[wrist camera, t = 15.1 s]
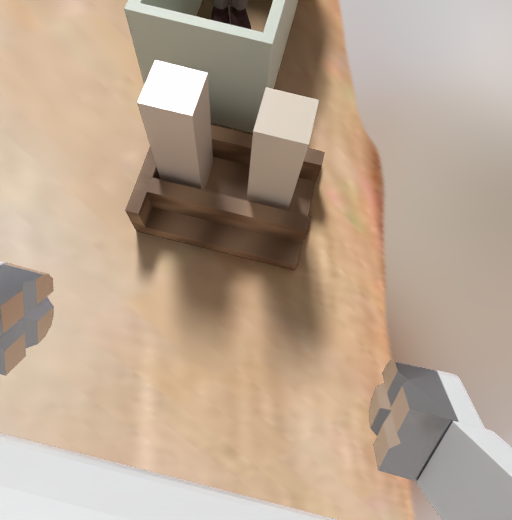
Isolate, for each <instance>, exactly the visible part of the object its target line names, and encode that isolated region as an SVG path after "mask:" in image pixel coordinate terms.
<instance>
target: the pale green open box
mask: <svg viewBox="0 0 512 520" xmlns="http://www.w3.org/2000/svg"><path fill="white" fill-rule="evenodd" d="M202 1H203V0H128V2H127V4H126V6H125V8H124V10H125V14H126V17H127V21H128V25H129V29H130V33H131V36H132V40H133V44H134V48H135V52H136V55H137V59H138V63H139V67H140V71H141V74H142V78H143V82H144V85H145V83H146V80H147V78H148V76H149V73H150V71H151V69H152V66H153V64H154V61H155V60H157V61H161V62H165V63H169V64H173V65H178V66H182V67H186V68H190V69H194V70H198V71H203V72H207V73H208V85H209V101H210V118H211V123H212V124H216V125H220V126H225V127H229V128H233V129H237V130H241V131H245V132H249V133H253V130H254V126H255V123H256V120H257V116H258V113H259V109H260V106H261V102H262V99H263V95H264V92H265V88H266V87H268V88H272V89H274V86H275V83H276V79H277V76H278V72H279V69H280V65H281V62H282V58H283V54H284V51H285V47H286V44H287V40H288V37H289V33H290V29H291V26H292V22H293V19H294V15H295V12H296V8H297V4H298V1H299V0H273V2H272V6H271V9H270V12H269V15H268V18H267V22H266V25H265V28H264V31H263V32H260V31H255V30H251V29H247V28H243V27H239V26H234V25H230V24H226V23H222V22H218V21H213V20H209V19H205V18H201V17H197V14H198V11H199V9H200V6H201V4H202Z"/></svg>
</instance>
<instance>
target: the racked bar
mask: <svg viewBox="0 0 512 520" xmlns="http://www.w3.org/2000/svg"><path fill="white" fill-rule="evenodd" d="M137 104H138V107H139V110H140V114H141V117H142V120H143V124H144V127H145V130H146V134H147V137H148V140H149V143H150V147H151V150H152V153H153V157H154V160H155V163H156V167H157V170H158V173H159V176H160V180H165V181H169V182H173V183H177V184H181V185H185V186H189V187H193V188H197V189H201V190H205V187H206V184H207V181H208V178H209V175H210V172H211V169H212V166H213V152H212V135H211V118H210V101H209V85H208V73H207V72H203V71H198V70H194V69H190V68H186V67H182V66H178V65H173V64H169V63H165V62H161V61H157V60H155V61H154V64H153V66H152V69H151V71H150V73H149V76H148V78H147V80H146V83H145V85H144V88H143V90H142V92H141V95H140V97H139V99H138V102H137Z"/></svg>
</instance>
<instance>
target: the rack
mask: <svg viewBox="0 0 512 520" xmlns="http://www.w3.org/2000/svg"><path fill="white" fill-rule="evenodd" d="M211 135H212V152H213V166H212V169H211V172H210V175H209V178H208V181H207V184H206V187H205V190H201V189H197V188H193V187H189V186H185V185H181V184H177V183H173V182H169V181H165V180H160V176H159V173H158V170H157V167H156V163H155V160H154V157H153V153H152V150H151V147H150V148H149V151H148V153H147V156H146V159H145V161H144V164H143V166H142V169H141V171H140V174H139V177H138V179H137V182H136V184H135V187H134V189H133V192H132V195H131V197H130V200H129V202H128V205H127V207H126V210H125V211H126V213H127V214H128V216H129V218H130V220H131V222H132V224H133V226H134V228H135V229H136V231H139V232H143V233H147V234H151V235H155V236H159V237H163V238H167V239H171V240H175V241H180V242H184V243H188V244H192V245H196V246H200V247H204V248H208V249H212V250H216V251H220V252H224V253H228V254H232V255H236V256H240V257H244V258H248V259H252V260H256V261H260V262H264V263H268V264H273V265H277V266H281V267H285V268H289V269H293V270H295V269H296V267H297V265H298V260H299V255H300V251H301V246H302V243H303V240H304V238H305V236H306V234H307V232H308V228H309V224H310V219H311V216H308V213H309V209H310V204H311V199H312V195H313V190H314V185H315V181H316V179H317V176H318V174H319V171H320V169H321V166H322V162H323V157H324V153H325V152H322V151H319V150H315V149H310V148H308V149H307V152H306V155H305V158H304V161H303V165H302V168H301V171H300V174H299V177H298V180H297V183H296V187H295V190H294V193H293V196H292V199H291V202H290V205H289V209H288V211H287V210H283V209H279V208H275V207H271V206H266V205H262V204H258V203H254V202H250V201H247V190H248V180H249V169H250V159H251V148H252V138H253V134H249V133H244V132H240V131H236V130H232V129H228V128H224V127H220V126H216V125H211Z"/></svg>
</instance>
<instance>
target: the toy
mask: <svg viewBox="0 0 512 520" xmlns="http://www.w3.org/2000/svg"><path fill="white" fill-rule="evenodd" d="M212 2H213V5H214V6H213V11H212V18H211V20H213V21H218V22H222V23H226V24H230V22H229V14H228V5H229V0H213V1H212ZM230 4H231V7H230V12H231V25H234V26H239V27H243V28H247V29H251V25H250V22H249V19H248V15H247V12H246V7H247V0H231V2H230Z"/></svg>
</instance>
